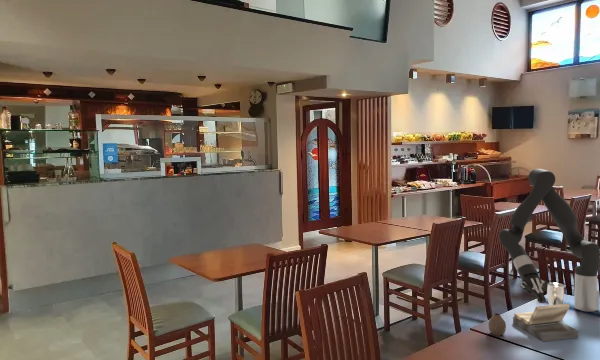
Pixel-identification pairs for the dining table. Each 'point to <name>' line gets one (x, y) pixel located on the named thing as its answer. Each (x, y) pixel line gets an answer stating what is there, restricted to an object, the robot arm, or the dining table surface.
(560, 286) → the metal can
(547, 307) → the oak plank
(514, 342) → the dining table surface
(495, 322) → the vase
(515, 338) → the dining table surface
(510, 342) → the dining table surface
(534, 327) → the floor board
